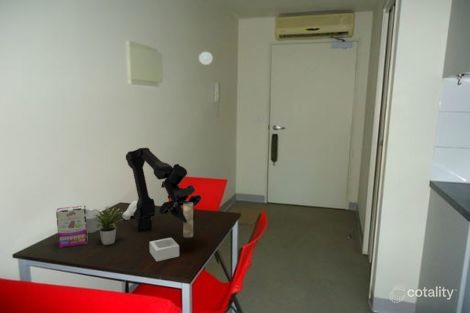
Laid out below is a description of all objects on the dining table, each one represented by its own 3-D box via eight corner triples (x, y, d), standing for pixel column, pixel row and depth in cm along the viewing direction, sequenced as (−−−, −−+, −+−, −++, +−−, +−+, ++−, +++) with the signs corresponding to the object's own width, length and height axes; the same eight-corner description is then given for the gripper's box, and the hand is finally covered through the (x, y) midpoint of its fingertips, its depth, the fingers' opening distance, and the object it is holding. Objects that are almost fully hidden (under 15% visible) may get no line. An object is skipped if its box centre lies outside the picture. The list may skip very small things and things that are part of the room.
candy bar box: (87, 240, 143) (86, 204, 141) (87, 244, 139) (85, 208, 136) (59, 243, 139) (57, 207, 136) (58, 248, 134) (55, 211, 132)
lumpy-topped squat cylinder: (89, 233, 150) (88, 216, 149) (71, 228, 156) (70, 211, 155) (107, 226, 159) (106, 210, 158) (89, 222, 165) (88, 206, 164)
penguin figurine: (143, 200, 175) (126, 208, 165) (144, 214, 177) (128, 223, 167) (135, 198, 178) (118, 206, 168) (136, 212, 180) (119, 221, 170)
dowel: (184, 238, 130) (183, 205, 128) (182, 234, 134) (182, 202, 132) (193, 237, 131) (193, 204, 129) (192, 233, 135) (192, 201, 133)
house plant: (108, 252, 131) (106, 214, 129) (82, 247, 136) (80, 210, 133) (131, 239, 144) (130, 205, 142) (106, 235, 149) (105, 201, 147)
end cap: (149, 252, 132) (149, 241, 132) (171, 247, 137) (171, 237, 136) (156, 261, 124) (156, 250, 124) (179, 256, 129) (179, 245, 128)
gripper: (163, 183, 125) (180, 216, 119) (199, 176, 139) (216, 206, 133) (152, 198, 132) (168, 231, 126) (187, 190, 145) (203, 219, 139)
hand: (190, 221), depth 131 cm, fingers closed on dowel, 4 cm apart
